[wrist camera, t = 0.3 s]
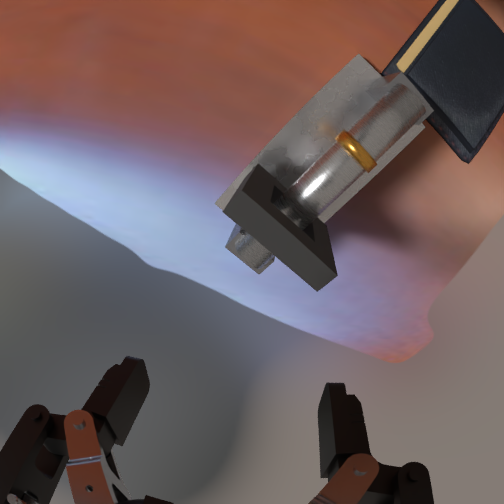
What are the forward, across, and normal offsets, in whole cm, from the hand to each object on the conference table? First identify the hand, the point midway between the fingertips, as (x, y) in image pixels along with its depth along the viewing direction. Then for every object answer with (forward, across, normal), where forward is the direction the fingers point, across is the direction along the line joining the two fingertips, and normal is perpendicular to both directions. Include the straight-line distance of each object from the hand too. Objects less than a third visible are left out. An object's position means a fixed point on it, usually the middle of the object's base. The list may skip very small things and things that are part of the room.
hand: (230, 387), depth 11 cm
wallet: (+21, -22, -23) cm, 38 cm away
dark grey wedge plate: (+19, -2, -4) cm, 20 cm away
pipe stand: (+22, -5, -8) cm, 24 cm away
